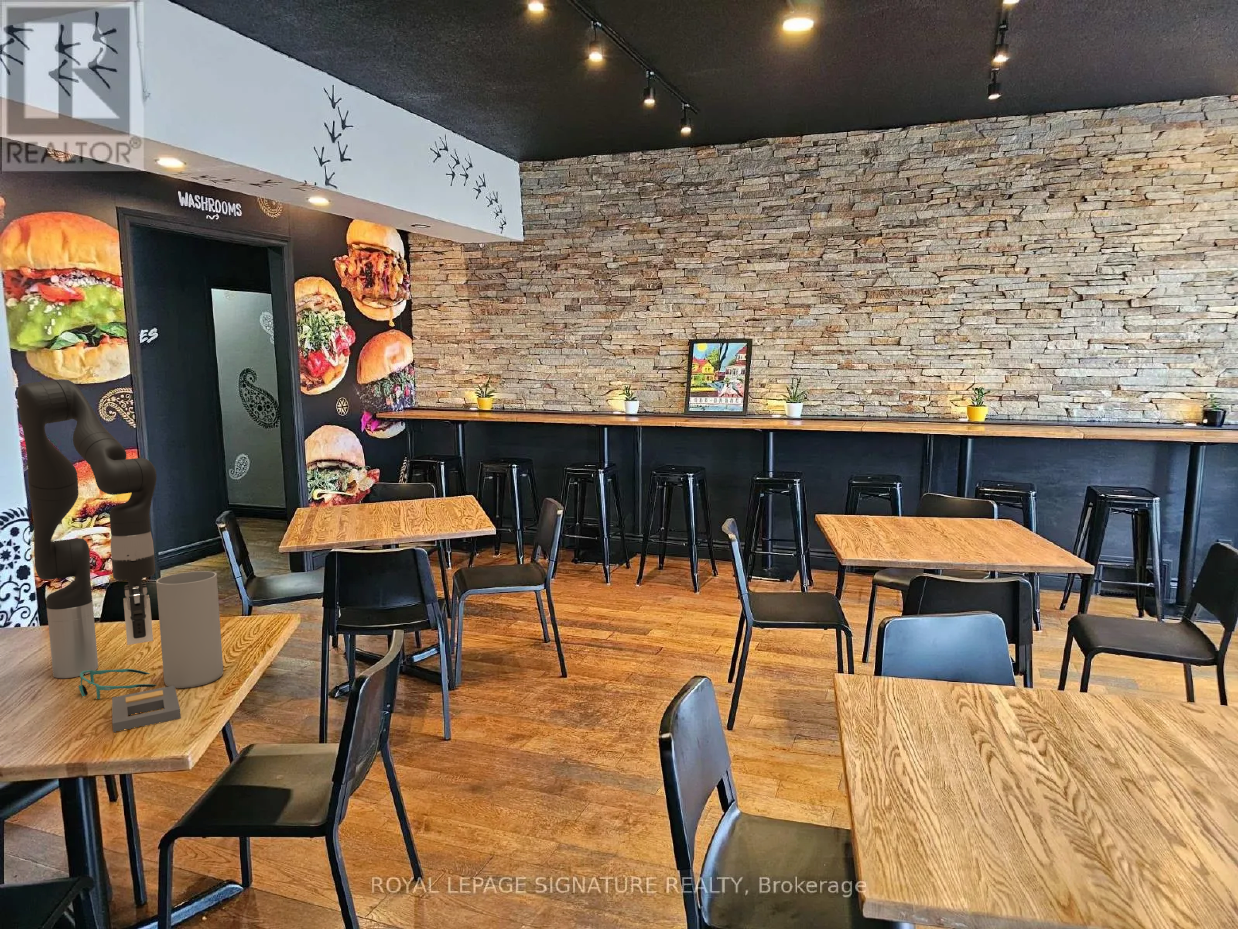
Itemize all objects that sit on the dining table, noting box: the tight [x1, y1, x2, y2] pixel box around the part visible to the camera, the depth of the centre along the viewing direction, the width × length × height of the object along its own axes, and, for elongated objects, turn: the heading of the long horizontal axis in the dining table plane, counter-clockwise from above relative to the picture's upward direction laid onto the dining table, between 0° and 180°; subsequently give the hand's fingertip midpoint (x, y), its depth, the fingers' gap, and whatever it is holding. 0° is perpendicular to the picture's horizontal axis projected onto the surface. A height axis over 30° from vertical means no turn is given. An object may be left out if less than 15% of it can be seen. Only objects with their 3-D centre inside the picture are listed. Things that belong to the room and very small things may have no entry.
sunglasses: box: [78, 668, 157, 700], centre depth 181 cm, size 14×15×5 cm
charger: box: [123, 594, 154, 646], centre depth 162 cm, size 4×5×9 cm
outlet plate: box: [111, 685, 182, 733], centre depth 167 cm, size 16×12×2 cm
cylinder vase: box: [155, 570, 224, 689], centre depth 184 cm, size 12×12×25 cm
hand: (139, 634), depth 162 cm, fingers closed on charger, 4 cm apart
